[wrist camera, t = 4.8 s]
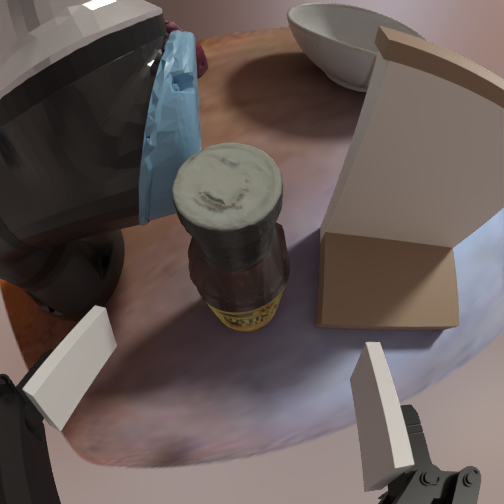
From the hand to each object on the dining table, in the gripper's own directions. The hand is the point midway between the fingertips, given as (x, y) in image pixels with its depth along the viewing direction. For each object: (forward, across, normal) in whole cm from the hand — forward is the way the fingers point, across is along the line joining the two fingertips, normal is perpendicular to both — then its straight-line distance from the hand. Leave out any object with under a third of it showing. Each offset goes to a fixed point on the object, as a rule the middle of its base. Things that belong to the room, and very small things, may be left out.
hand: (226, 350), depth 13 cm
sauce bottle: (+14, 0, -6) cm, 15 cm away
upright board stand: (+16, +15, -4) cm, 22 cm away
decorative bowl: (+45, +14, +24) cm, 53 cm away
